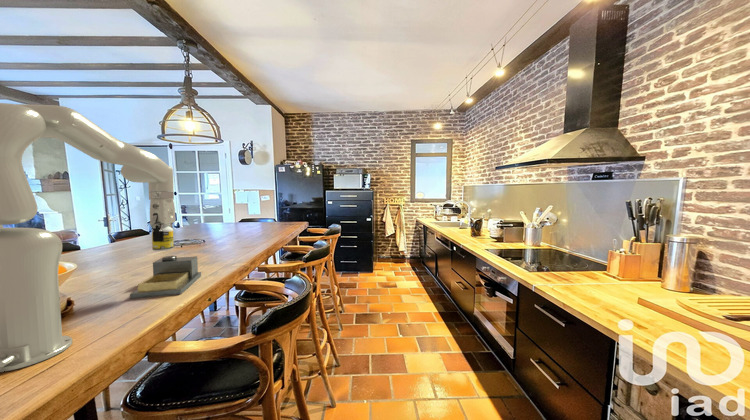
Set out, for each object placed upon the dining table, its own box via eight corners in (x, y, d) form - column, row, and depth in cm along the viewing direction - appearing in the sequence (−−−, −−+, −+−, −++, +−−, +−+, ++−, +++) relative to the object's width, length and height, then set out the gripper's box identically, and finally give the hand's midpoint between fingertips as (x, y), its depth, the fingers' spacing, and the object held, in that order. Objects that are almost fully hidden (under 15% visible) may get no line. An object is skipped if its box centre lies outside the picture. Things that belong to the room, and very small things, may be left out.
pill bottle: (154, 252, 94) (153, 223, 93) (150, 250, 98) (149, 221, 97) (175, 249, 99) (174, 221, 99) (171, 247, 103) (170, 220, 103)
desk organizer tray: (181, 294, 96) (180, 266, 95) (130, 299, 91) (128, 270, 90) (201, 276, 117) (200, 253, 116) (160, 279, 112) (159, 255, 111)
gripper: (161, 196, 90) (163, 243, 91) (182, 195, 107) (183, 235, 108) (136, 196, 88) (138, 244, 89) (161, 195, 104) (162, 236, 105)
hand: (163, 239), depth 98 cm, fingers closed on pill bottle, 6 cm apart
